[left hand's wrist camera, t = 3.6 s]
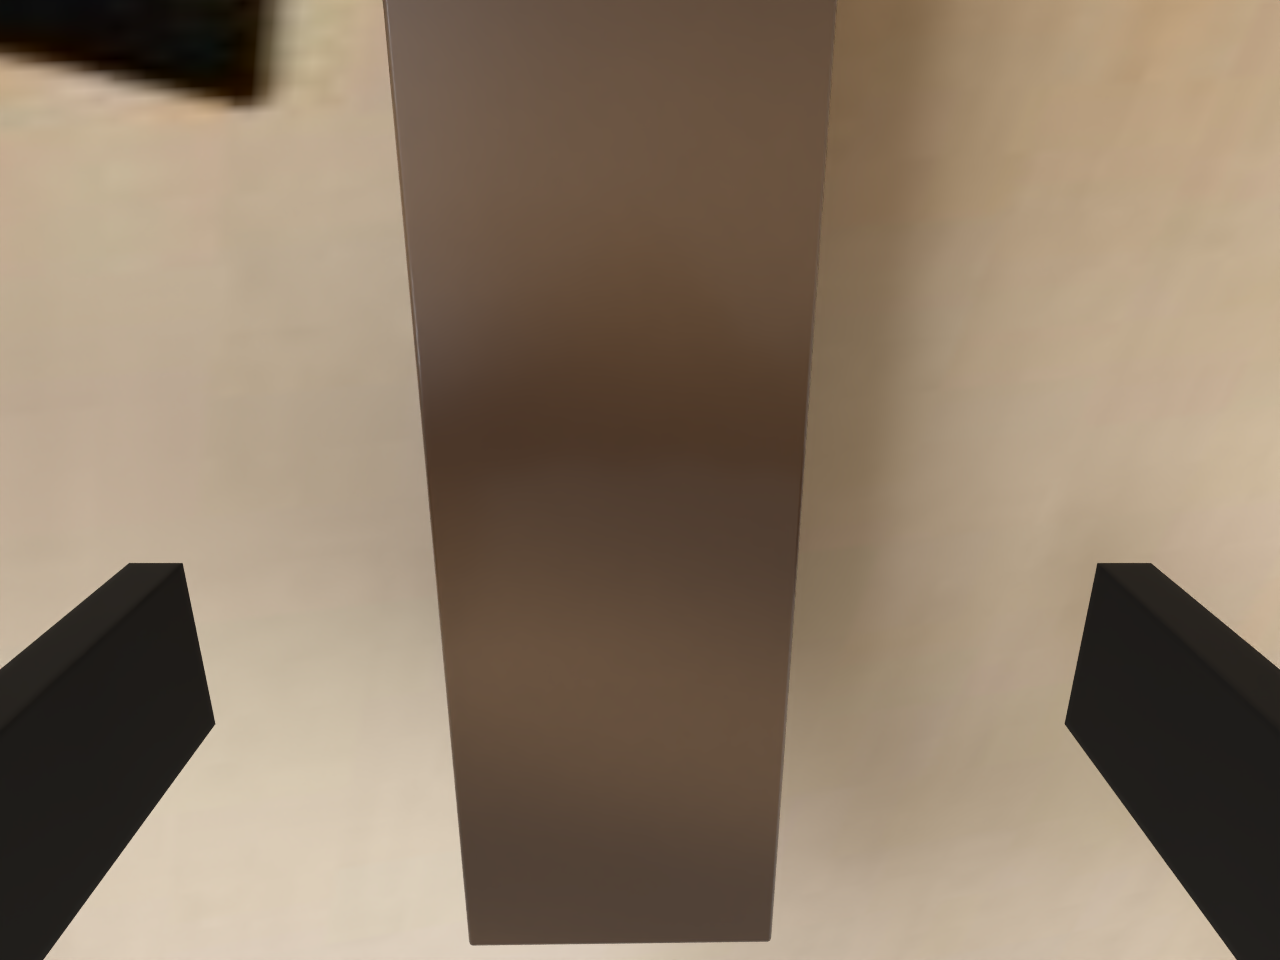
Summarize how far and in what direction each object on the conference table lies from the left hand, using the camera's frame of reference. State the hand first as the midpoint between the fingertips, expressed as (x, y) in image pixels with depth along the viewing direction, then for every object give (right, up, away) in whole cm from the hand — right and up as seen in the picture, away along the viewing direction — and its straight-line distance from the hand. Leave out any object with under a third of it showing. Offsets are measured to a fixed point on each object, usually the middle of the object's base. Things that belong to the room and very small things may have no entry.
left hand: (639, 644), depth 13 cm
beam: (0, +26, -2) cm, 26 cm away
